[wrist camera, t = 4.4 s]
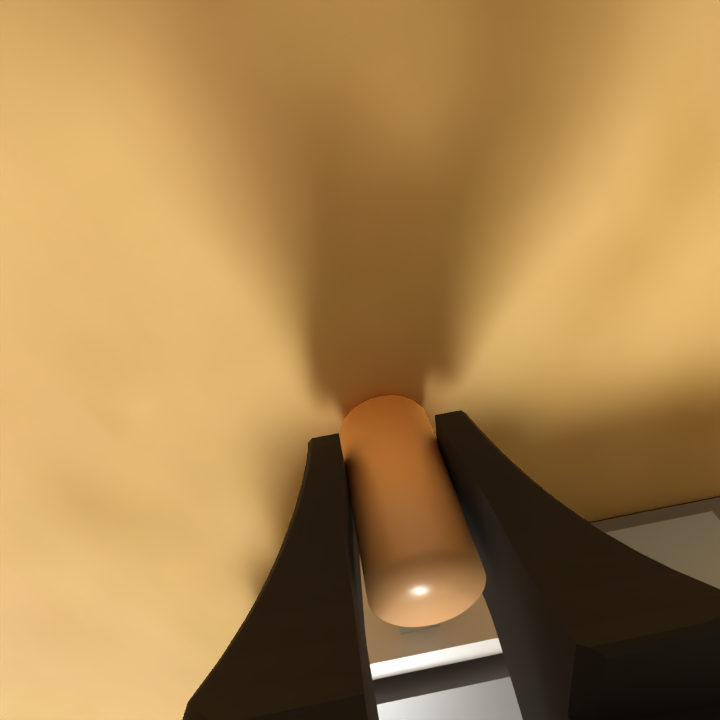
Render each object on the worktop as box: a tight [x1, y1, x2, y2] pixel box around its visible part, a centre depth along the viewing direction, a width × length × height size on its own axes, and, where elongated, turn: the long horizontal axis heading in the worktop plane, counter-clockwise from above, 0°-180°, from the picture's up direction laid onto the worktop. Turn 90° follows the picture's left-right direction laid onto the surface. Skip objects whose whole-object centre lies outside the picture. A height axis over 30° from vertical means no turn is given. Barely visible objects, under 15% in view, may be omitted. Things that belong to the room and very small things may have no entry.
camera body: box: [373, 497, 720, 720], centre depth 19 cm, size 15×7×4 cm, turn 97°
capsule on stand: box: [340, 395, 503, 680], centre depth 14 cm, size 6×6×5 cm
